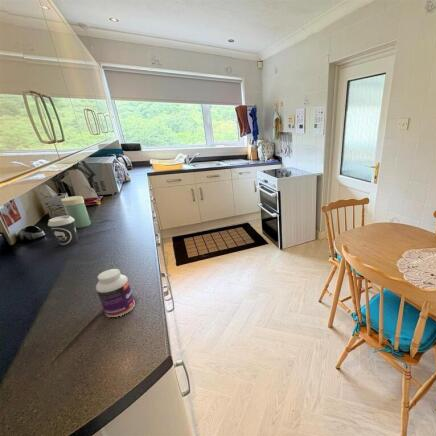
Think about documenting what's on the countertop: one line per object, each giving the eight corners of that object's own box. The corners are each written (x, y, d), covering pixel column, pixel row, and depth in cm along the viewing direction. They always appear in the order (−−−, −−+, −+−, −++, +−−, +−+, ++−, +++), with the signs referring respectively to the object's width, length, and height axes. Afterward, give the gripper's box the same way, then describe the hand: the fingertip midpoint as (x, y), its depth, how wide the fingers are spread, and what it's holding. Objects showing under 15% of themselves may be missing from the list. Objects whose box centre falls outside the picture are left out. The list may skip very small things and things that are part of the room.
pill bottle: (136, 312, 76) (125, 275, 70) (106, 323, 71) (91, 285, 66) (134, 298, 82) (124, 263, 76) (106, 307, 77) (93, 271, 72)
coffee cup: (84, 245, 117) (74, 218, 112) (59, 252, 111) (47, 223, 105) (81, 239, 123) (71, 213, 118) (56, 246, 116) (45, 218, 111)
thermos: (67, 228, 137) (57, 201, 130) (79, 222, 145) (70, 197, 139) (83, 228, 137) (74, 201, 131) (94, 222, 145) (86, 197, 139)
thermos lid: (58, 205, 131) (56, 200, 130) (72, 200, 140) (70, 196, 139) (75, 205, 132) (73, 200, 130) (88, 200, 140) (86, 195, 139)
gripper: (37, 155, 116) (53, 196, 123) (95, 151, 136) (106, 186, 144) (31, 154, 119) (47, 194, 127) (89, 150, 139) (99, 185, 147)
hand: (78, 190), depth 135 cm, fingers open, 13 cm apart
